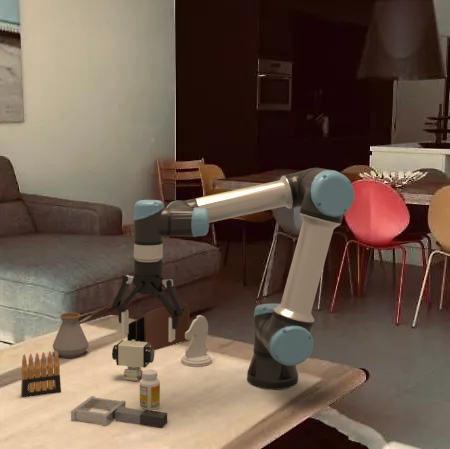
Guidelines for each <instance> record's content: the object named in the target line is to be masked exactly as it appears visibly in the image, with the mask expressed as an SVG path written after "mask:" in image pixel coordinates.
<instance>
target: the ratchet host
mask: <svg viewBox="0 0 450 449" xmlns="http://www.w3.org/2000/svg"><path fill="white" fill-rule="evenodd" d="M92 408H94V409H100V410H107V411H108V412H105V413H103V412H97V411H90V410H91V409H92ZM70 421H74V422H76V421H77V422H85V423H89V424H90V423H91V424H97V425H102V426H104V427H107V426H109V424H111V423H112V422H113V421H117V422H122V423H129V424H135V425H141V426H146V427H147V426H148V427H154V428H160V429H162V428H163V427H165V425H167V424H168V412H166V411H164V412H163V411H157V410H145V409H137V408H136V409H135V408H130V407H126V400H116V399H110V398H109V399H108V398H101V397H96V396H95V395H94V396H93V395H91V396H89V397H88V398H87V399H86V400H84V401H83V402H81V403H80V404H79V405H78V406H76V407H75V408H73V409H72V410H70Z"/></svg>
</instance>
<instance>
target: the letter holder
mask: <svg viewBox="0 0 450 449" xmlns="http://www.w3.org/2000/svg"><path fill="white" fill-rule="evenodd" d="M182 304H183V306H184V309H185V311H186V312H185V314H183V315H182V316H179V317H178V328H177V329H175V340H173V341H172V342H169V317H171V315H170V313H169V312H168V311H167V309H166V308H165V307H164V306H160V307H157V308H155V309H152V310H150V311H148V312H146V313H145V314H144V315H143V316H141V317H139V318H137V319H136V320H134V321H133V320H132V321H130V322H128V324H129V334H127V335H126V336H127V337H126V338H127V340H126V341H132V340H135V341H137V342H138V341H140V342H149V343H150V346H151V348H154V351H156V350H159V349H162V348H167V347H171V346H173V344H174V345H177V344H176V343H178V344H180V343H179V342H182V343H185V342H189V341H188V340H187V339H185V332H187V331H188V330H189V328H190V306H189V304H188V303H182ZM184 341H185V342H184ZM170 345H171V346H170Z"/></svg>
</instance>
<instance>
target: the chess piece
mask: <svg viewBox="0 0 450 449" xmlns="http://www.w3.org/2000/svg"><path fill="white" fill-rule="evenodd" d="M208 334H209V322H208V320H207V318H206V317H205V316H203V315H201V314H199V315H196V317H195V319H193V320H192V322H191V324H190V325H189V330H188V331H187V332H185V339H187V340H188V341H187V342H189V341H190V342H189V343H188V345H187V347H186V348H185V352H184V354H183V356H182V357H181V358H180V364H182V365H184V366H187V367H193V368H195V367H196V368H200V367H201V368H202V367H207V366H210V365H211V364H212V363H213V361H212V357H211V356H210V355H209V354H207V353H208V352H209V350H208V348H207V346H206V345H207V344H206V341H207V338H208Z"/></svg>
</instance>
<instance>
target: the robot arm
mask: <svg viewBox="0 0 450 449" xmlns="http://www.w3.org/2000/svg"><path fill="white" fill-rule="evenodd" d="M354 199H355V190H354V186H353V184H352V182H351V180H350V179H349V178H348V177H347V176H346V175H344V174H343V173H342V172H340V171H337V170H333V169H326V168H323V167H313V168H312V167H311V168H308V169H305V170H300V171H298V172H294V173H290V174H286V175H282V176H281V177H280V179H279V180H275V181H270V182H266V183H262V184H256V185H252V186H248V187H242V188H239V189H238V188H237V189H233V190H229V191H225V192H219V193H214V194H210V195H206V196H205V195H204V196H201V197H197V198H192V199H187V200H173V201H171V202H170V203H169V204H168V205H166V207H164V203H163V201H162V200H159V199H158V200H157V199H142V200H138V201H136V202H135V203H134V208H133V209H134V211H133V258H134V261H133V274H134V275H133V276H132V275H130V274H127V275H124V276H123V277H122V281H121V286H120V287H119V290H118V292H117V294H116V296H115V298H114V300H113V302H112V303H113V304H112V306H111V308H112V309H114V310H116V311H117V312H118V323H119V324H121V327H120V328H121V337H125V336H127V334H129V310H128V309H127V308H128V307H129V306H130V305H131V303H132V302H133V301H134V300H135V299H136V298H137V296H138V295H139V294H141V295H149V296H155V297H156V298H157V299H158V300H159V302H161V304H162V306H163V307H165V308H166V309H167V311H168V312H169V313H170V315H171V317H169V342H172V341H173V340H175V329H177V328H178V317H179V316H182V315H183V314H185V312H186V311H185V309H184V306H183V304H184V303H183V302H182V300H181V298H180V295H179V293H178V291H177V289H176V287H175V280H174V278H169V279H164V277H163V273H164V272H163V271H164V270H163V269H164V266H163V265H164V263H163V262H164V261H163V260H162V259H163V257H164V254H163V252H164V250H163V249H164V248H163V247H164V246H163V245H164V240H163V239H164V238H165V237H166V238H169V237H194V238H197V237H203V236H206V235H207V234H208V233H209V228H210V223H214V222H218V221H223V220H228V219H232V218H237V217H242V216H246V215H251V214H255V213H261V212H264V211H269V210H274V209H278V208H283V207H285V208H287V209H289V210H291V209H295V208H300V210H299V213H298V214H299V215H300V217H301V219H302V224H301V226H300V230H299V235H298V237H297V238H298V239H297V242H296V245H295V250H294V253H293V256H292V259H291V260H292V261H291V264H290V267H289V272H288V276H287V279H286V283H285V287H284V291H283V294H282V298H281V302H280V303H263V304H258V305H256V307H255V308H254V312H253V353H252V354H253V355H252V357H251V361H250V363H249V367H248V369H247V372H246V380H247V382H248V384H250V385H252V386H254V387H257V388H261V389H267V390H279V389H280V390H281V389H288V388H291V387H294V386H296V385H297V384H298V383H299V372H298V369H297V365H300V364H302V363H304V362H305V361H306V360H307V359H308V358H309V357H310V356H311V354H312V353H313V350H314V339H313V338H314V337H313V336H312V331H313V327H314V323H315V318H314V315H313V314H312V311H313V310H312V309H313V306H314V302H315V298H316V295H317V291H318V287H319V284H320V281H321V277H322V273H323V269H324V266H325V262H326V258H327V255H328V252H329V247H330V243H331V240H332V236H333V233H334V230H335V229H336V228H337V227H339V226H340V225H342V221H343V218H344V215H345V214H346V213H347V212H348V211H349V210H350V209H351V207H352V205H353V204H354V201H355V200H354ZM132 283H133V285H134V286H135V287H134V288H133V289H132V290H131V293H130V294H129V295H128V296H127V297H126V298H125V300H124V297H125V296H126V294H127V291H128V289H129V287H130V285H131V284H132ZM163 286H164V287H165V288H166V290H167V293H168V295H169V296H167V294H166V292H165V290H164V288H163ZM169 297H170V298H169Z"/></svg>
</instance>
